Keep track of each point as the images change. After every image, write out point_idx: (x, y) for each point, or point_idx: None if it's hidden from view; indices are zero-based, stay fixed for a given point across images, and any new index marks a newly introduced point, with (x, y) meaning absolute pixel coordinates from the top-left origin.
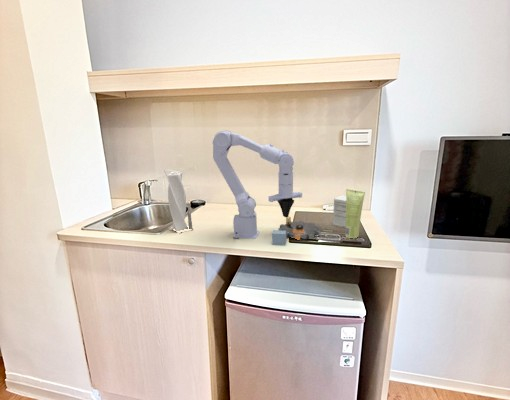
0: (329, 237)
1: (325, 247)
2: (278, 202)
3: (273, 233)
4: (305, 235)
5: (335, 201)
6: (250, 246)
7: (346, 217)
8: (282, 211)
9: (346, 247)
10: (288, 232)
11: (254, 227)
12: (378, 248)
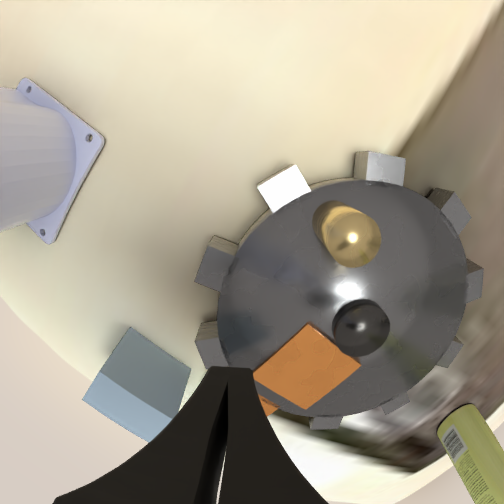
0: (413, 401)
1: (315, 457)
2: (83, 494)
3: (89, 403)
4: (304, 412)
5: None
6: (26, 305)
7: (481, 474)
8: (192, 406)
9: (370, 467)
10: (232, 354)
11: (14, 224)
12: (421, 477)
